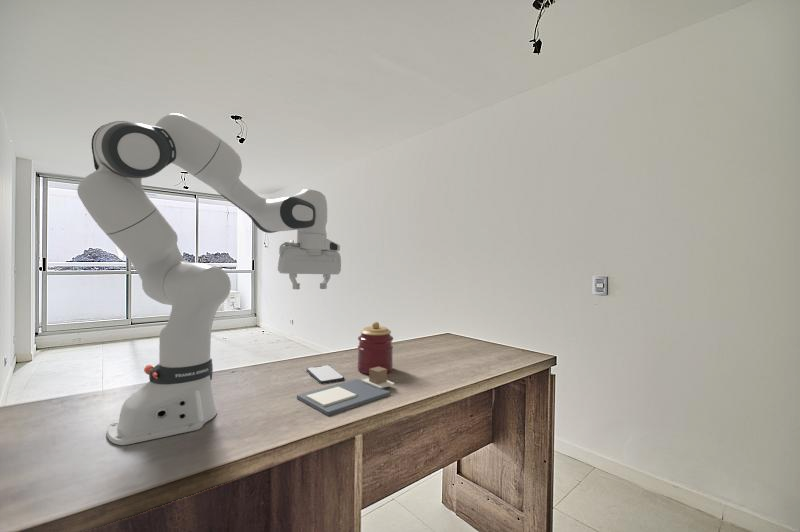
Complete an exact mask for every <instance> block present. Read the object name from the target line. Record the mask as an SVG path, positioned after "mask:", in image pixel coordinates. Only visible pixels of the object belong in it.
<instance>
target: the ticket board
mask: <svg viewBox="0 0 800 532" xmlns="http://www.w3.org/2000/svg"><path fill="white" fill-rule="evenodd" d="M362 380H363V379H360V378H355V379H351V380H347V381H342V382H339V383H336V384H332V385H329V386H326V387H321V388H317V389H314V390H311V391H307V392H303V393H299V394H296V399H297V400H299V401H300V400H301V402H302V401H303V402H302V403H304V404H306V405H308V406H309V407H312V409H315V410H317V411H318V412H321V413H322V414H324V415H325V416H327V417H329V416H331V415H334V414H338V413H341V412H343V411H344V412H345V411H347V410H349V409H353V408H355V407H358V406H361V405H364V404H367V403H370V402H373V401H376V400H380V399H383V398H385V397H388V396H390V395H391V391H390V390H387V389H385V388H382V389H379V388H377V387H374V386H371V385H369V384H366V383H364V382H362Z"/></svg>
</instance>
